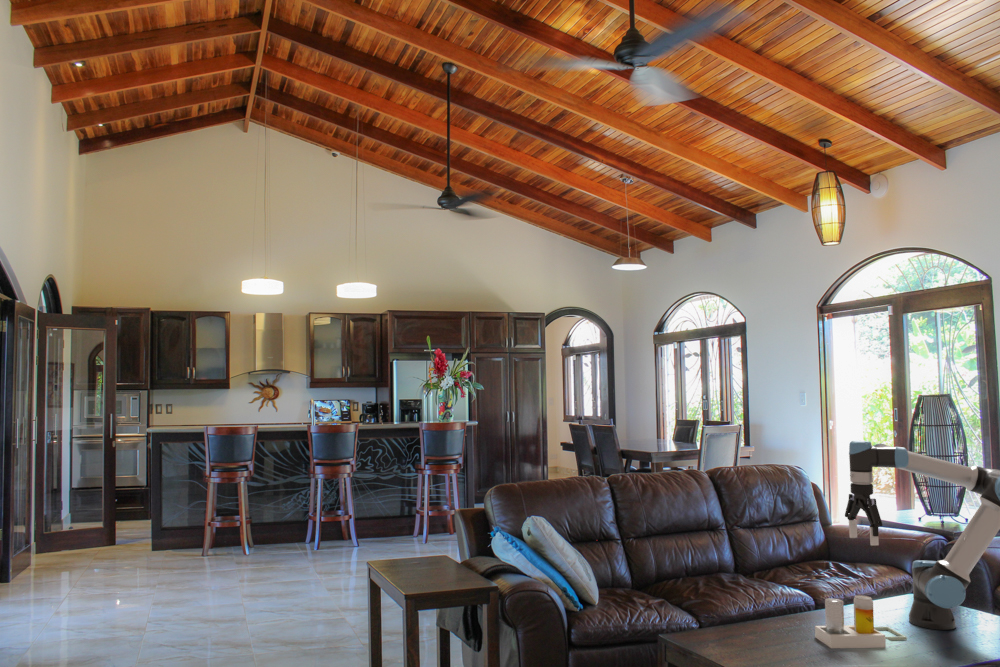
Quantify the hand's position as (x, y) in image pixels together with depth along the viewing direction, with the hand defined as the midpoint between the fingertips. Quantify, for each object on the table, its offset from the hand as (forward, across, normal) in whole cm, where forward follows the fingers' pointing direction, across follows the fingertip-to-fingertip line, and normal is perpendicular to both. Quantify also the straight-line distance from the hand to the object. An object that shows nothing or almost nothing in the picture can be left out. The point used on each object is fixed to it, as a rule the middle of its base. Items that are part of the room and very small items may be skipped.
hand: (863, 541), depth 276 cm
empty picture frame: (+31, +6, +2) cm, 32 cm away
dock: (+31, +14, -15) cm, 38 cm away
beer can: (+31, +15, -10) cm, 36 cm away
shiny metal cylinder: (+31, +14, -20) cm, 40 cm away
